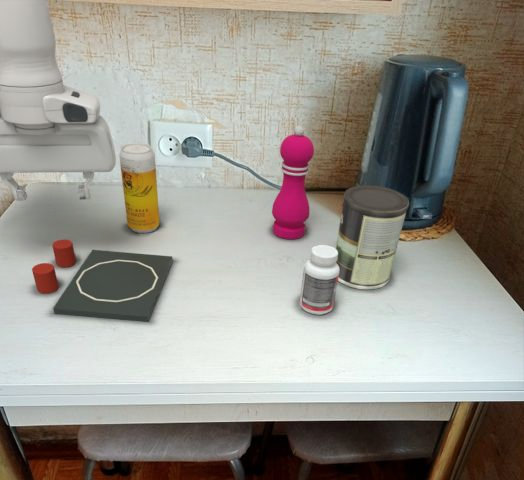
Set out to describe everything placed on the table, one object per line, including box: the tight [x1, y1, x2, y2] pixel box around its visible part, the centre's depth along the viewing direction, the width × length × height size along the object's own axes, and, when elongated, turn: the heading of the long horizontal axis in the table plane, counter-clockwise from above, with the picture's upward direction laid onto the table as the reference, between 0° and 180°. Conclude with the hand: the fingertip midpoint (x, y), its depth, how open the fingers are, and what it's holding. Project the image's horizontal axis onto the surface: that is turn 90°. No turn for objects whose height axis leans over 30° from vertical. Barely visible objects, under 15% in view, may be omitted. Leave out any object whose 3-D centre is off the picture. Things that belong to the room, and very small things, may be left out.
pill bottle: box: [299, 244, 340, 315], centre depth 78 cm, size 5×5×10 cm
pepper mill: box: [271, 125, 315, 240], centre depth 94 cm, size 7×7×20 cm
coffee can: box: [335, 184, 410, 291], centre depth 85 cm, size 10×10×14 cm
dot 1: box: [31, 262, 60, 295], centre depth 79 cm, size 3×3×4 cm
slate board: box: [52, 249, 174, 323], centre depth 82 cm, size 14×18×1 cm
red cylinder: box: [51, 238, 77, 268], centre depth 85 cm, size 3×3×4 cm
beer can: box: [118, 142, 161, 234], centre depth 94 cm, size 6×6×15 cm
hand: (53, 198), depth 79 cm, fingers open, 8 cm apart
